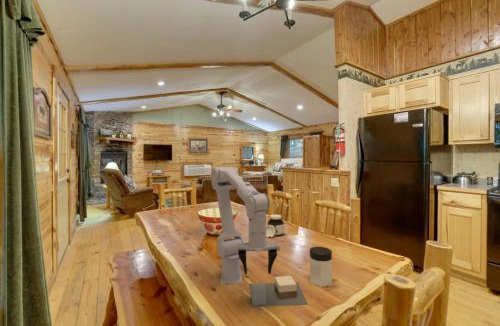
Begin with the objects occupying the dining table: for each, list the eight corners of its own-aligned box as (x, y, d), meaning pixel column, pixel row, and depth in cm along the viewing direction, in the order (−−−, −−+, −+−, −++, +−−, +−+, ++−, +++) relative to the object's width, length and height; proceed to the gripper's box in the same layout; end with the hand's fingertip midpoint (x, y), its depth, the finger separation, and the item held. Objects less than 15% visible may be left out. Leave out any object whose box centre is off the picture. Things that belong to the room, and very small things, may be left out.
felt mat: (249, 284, 92) (249, 283, 92) (297, 283, 93) (297, 282, 93) (251, 307, 78) (251, 306, 78) (308, 305, 79) (308, 304, 79)
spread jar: (283, 232, 155) (283, 214, 154) (284, 238, 144) (284, 218, 143) (264, 232, 156) (264, 214, 156) (263, 238, 145) (263, 218, 144)
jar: (336, 281, 94) (336, 250, 94) (326, 290, 88) (326, 256, 88) (315, 274, 100) (315, 244, 100) (304, 281, 94) (304, 250, 94)
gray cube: (251, 297, 83) (251, 283, 83) (264, 296, 84) (264, 283, 83) (252, 305, 79) (252, 291, 79) (266, 304, 79) (266, 290, 79)
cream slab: (274, 283, 88) (274, 277, 88) (291, 281, 89) (291, 275, 89) (279, 292, 82) (279, 285, 82) (296, 290, 83) (296, 284, 83)
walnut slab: (274, 289, 88) (274, 283, 88) (290, 287, 89) (290, 281, 89) (279, 299, 82) (279, 292, 82) (296, 296, 83) (296, 290, 83)
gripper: (234, 235, 76) (234, 279, 76) (281, 234, 76) (281, 278, 77) (235, 228, 83) (235, 268, 83) (278, 228, 84) (278, 268, 84)
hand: (257, 272), depth 81 cm, fingers open, 7 cm apart
